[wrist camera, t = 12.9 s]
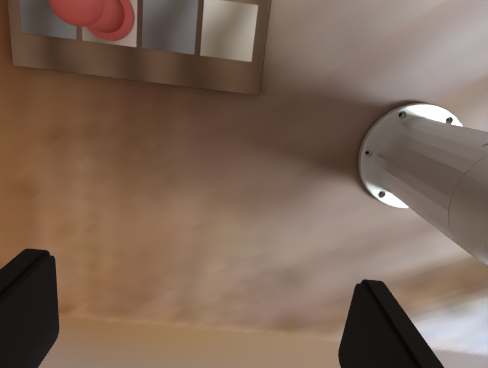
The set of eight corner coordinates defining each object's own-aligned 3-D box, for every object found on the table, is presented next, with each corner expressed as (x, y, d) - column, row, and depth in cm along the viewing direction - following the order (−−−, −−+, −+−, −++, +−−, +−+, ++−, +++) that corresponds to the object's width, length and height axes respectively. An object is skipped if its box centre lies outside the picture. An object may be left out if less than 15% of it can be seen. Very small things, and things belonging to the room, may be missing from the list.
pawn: (135, -9, 33) (97, -40, 24) (134, 43, 35) (98, 32, 26) (85, -16, 33) (27, -50, 24) (86, 37, 34) (33, 24, 25)
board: (274, -27, 34) (275, -31, 33) (258, 94, 38) (259, 95, 37) (9, -65, 33) (-1, -71, 31) (19, 65, 36) (11, 65, 35)
